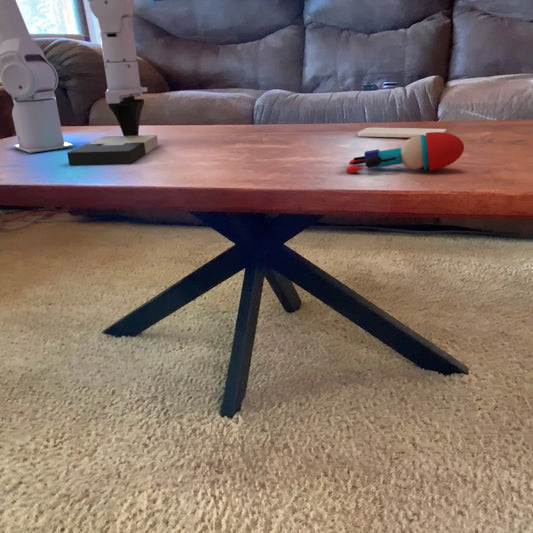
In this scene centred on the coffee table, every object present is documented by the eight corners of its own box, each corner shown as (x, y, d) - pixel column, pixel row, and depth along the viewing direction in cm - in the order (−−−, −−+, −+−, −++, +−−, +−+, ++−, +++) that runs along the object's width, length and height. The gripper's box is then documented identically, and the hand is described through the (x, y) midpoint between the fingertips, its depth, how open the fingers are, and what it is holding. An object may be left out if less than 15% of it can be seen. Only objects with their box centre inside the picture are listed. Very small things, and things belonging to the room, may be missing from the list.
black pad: (88, 155, 88) (86, 143, 87) (145, 154, 87) (144, 142, 86) (69, 165, 80) (66, 152, 80) (131, 163, 80) (129, 150, 79)
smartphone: (368, 127, 101) (447, 128, 94) (367, 131, 101) (446, 133, 95) (356, 132, 95) (440, 134, 88) (356, 136, 95) (439, 139, 89)
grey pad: (105, 147, 95) (103, 136, 94) (158, 145, 94) (156, 134, 94) (84, 158, 86) (82, 146, 85) (142, 156, 85) (141, 144, 84)
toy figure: (347, 186, 68) (467, 169, 63) (341, 148, 66) (464, 128, 62) (353, 177, 74) (462, 161, 70) (349, 143, 73) (460, 125, 68)
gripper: (130, 62, 83) (141, 146, 88) (153, 60, 96) (162, 133, 101) (88, 63, 83) (101, 147, 88) (117, 61, 96) (127, 134, 102)
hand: (131, 140), depth 95 cm, fingers closed
